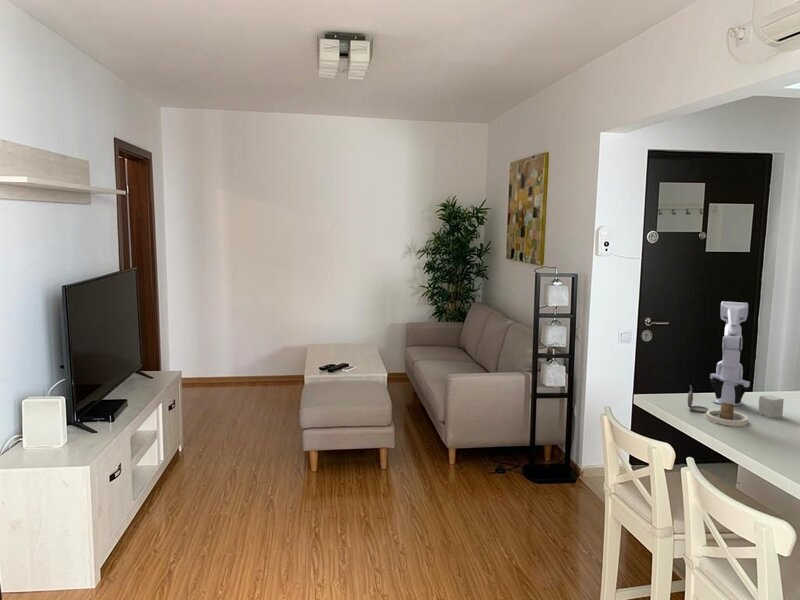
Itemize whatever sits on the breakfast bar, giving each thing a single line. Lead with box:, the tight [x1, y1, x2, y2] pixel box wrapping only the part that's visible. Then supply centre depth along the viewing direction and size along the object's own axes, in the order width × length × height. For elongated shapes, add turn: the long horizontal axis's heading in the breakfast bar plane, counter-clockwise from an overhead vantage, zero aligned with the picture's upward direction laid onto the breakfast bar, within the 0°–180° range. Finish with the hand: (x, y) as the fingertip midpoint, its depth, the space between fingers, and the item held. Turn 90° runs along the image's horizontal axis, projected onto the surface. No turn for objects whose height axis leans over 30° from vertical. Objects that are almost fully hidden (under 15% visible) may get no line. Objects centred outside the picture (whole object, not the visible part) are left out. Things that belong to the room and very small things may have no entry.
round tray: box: [705, 409, 749, 427], centre depth 227 cm, size 14×14×2 cm
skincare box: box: [758, 394, 785, 419], centre depth 233 cm, size 6×6×7 cm
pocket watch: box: [687, 384, 709, 413], centre depth 239 cm, size 8×8×10 cm
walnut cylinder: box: [720, 402, 735, 420], centre depth 227 cm, size 4×4×6 cm
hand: (727, 400), depth 226 cm, fingers open, 7 cm apart
